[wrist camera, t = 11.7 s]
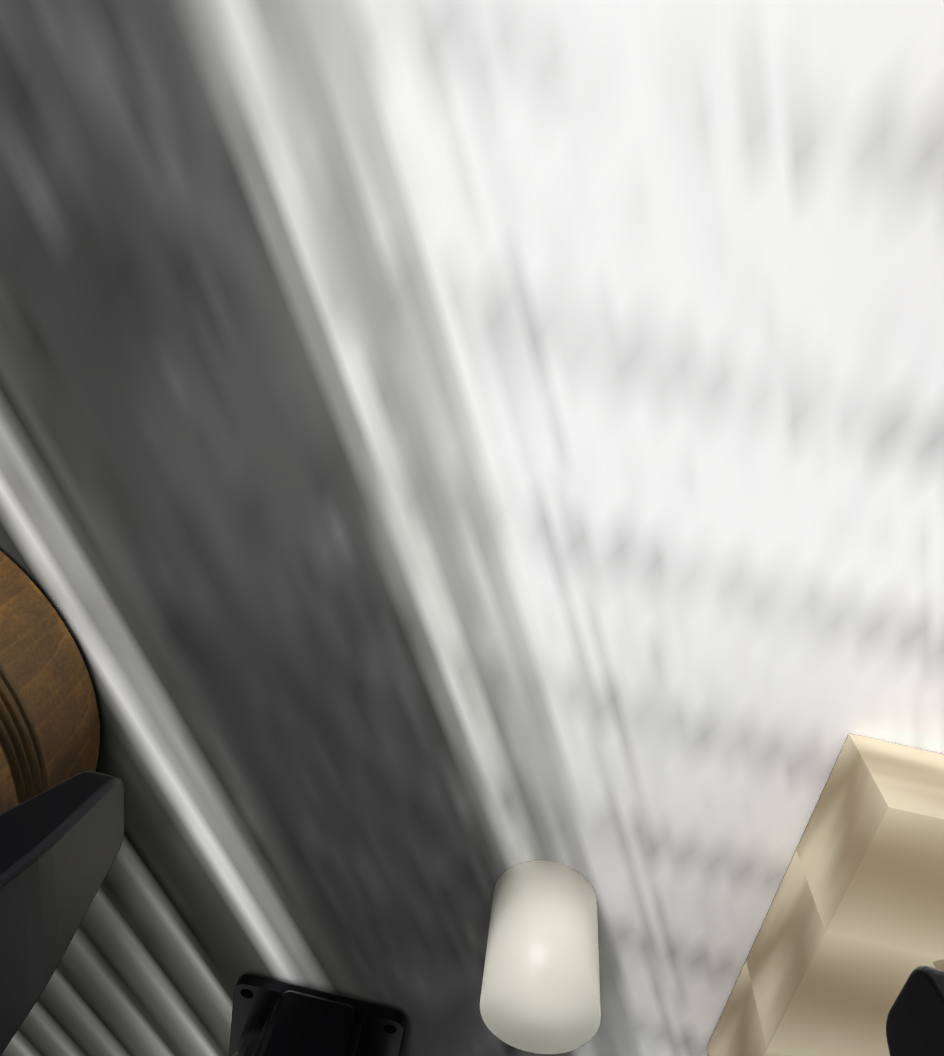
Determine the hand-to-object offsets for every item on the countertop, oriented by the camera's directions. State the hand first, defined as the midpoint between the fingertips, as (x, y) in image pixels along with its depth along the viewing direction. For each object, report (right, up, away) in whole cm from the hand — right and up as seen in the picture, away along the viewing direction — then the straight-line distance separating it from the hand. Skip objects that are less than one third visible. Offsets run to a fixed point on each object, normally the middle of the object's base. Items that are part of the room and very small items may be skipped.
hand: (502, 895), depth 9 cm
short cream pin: (+2, -9, +17) cm, 19 cm away
